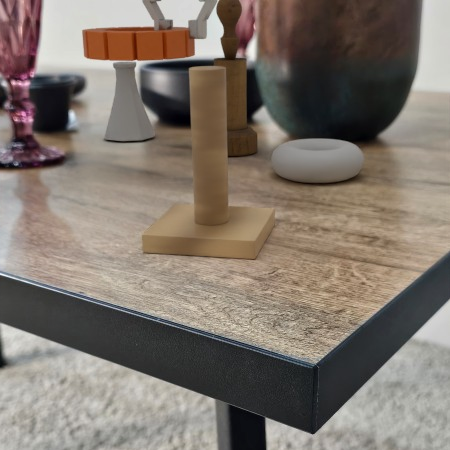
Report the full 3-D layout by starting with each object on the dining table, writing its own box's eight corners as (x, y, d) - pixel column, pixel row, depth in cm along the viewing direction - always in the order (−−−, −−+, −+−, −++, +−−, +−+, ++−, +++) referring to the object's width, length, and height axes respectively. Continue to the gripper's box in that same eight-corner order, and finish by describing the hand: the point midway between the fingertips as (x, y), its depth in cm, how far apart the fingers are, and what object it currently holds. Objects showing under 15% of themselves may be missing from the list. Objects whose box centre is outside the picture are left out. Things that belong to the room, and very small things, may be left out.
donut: (262, 169, 84) (282, 188, 75) (262, 138, 83) (282, 155, 74) (347, 164, 86) (376, 183, 77) (348, 134, 84) (378, 149, 75)
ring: (67, 60, 73) (64, 32, 72) (108, 51, 83) (107, 26, 82) (176, 61, 71) (175, 32, 70) (205, 52, 81) (205, 26, 80)
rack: (142, 252, 58) (130, 74, 53) (175, 219, 66) (168, 61, 61) (255, 259, 56) (254, 74, 51) (274, 224, 64) (276, 62, 59)
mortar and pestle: (266, 148, 94) (266, -5, 87) (243, 158, 89) (242, -4, 82) (220, 144, 97) (216, -4, 90) (195, 154, 92) (190, -3, 85)
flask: (162, 133, 105) (158, 60, 101) (146, 143, 99) (141, 65, 95) (114, 132, 107) (109, 59, 103) (95, 142, 100) (88, 65, 96)
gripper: (60, -118, 69) (73, 39, 75) (277, -125, 65) (273, 42, 70) (87, -110, 75) (97, 35, 80) (288, -117, 70) (284, 37, 76)
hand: (181, 38), depth 75 cm, fingers closed on ring, 2 cm apart
